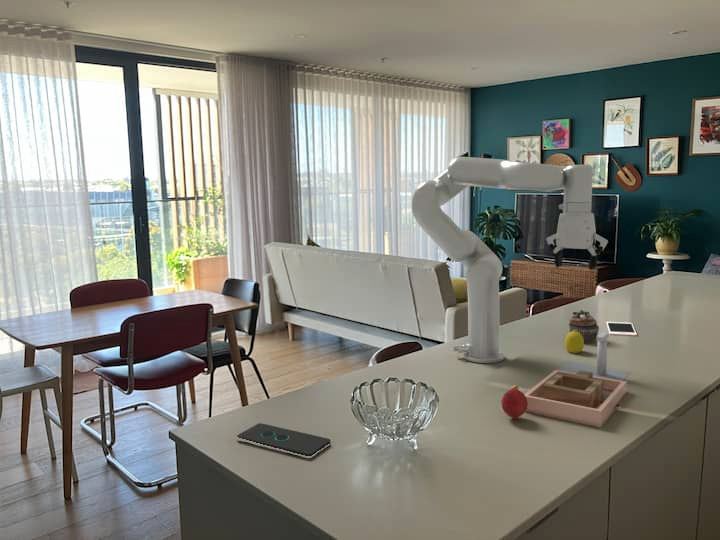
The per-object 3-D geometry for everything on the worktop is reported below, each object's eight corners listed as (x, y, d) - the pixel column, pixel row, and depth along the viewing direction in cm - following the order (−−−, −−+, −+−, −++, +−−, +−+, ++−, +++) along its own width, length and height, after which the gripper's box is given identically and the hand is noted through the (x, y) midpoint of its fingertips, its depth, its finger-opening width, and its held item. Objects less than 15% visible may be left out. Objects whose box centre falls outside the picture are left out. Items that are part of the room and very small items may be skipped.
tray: (600, 427, 130) (601, 411, 130) (522, 411, 141) (522, 395, 141) (626, 396, 149) (626, 381, 148) (555, 383, 159) (555, 369, 159)
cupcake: (590, 345, 194) (590, 315, 192) (563, 340, 201) (563, 311, 199) (604, 339, 200) (605, 311, 198) (577, 335, 207) (578, 307, 206)
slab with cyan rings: (259, 421, 137) (331, 438, 127) (260, 429, 137) (332, 446, 127) (235, 435, 130) (309, 454, 120) (235, 442, 130) (309, 462, 120)
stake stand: (630, 375, 164) (632, 332, 162) (618, 389, 153) (620, 343, 151) (568, 365, 174) (569, 324, 172) (553, 378, 163) (554, 334, 162)
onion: (513, 425, 133) (513, 391, 132) (496, 417, 138) (496, 384, 137) (532, 420, 136) (533, 387, 135) (515, 412, 141) (515, 379, 140)
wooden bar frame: (589, 414, 136) (590, 393, 135) (542, 405, 142) (542, 385, 142) (608, 393, 148) (609, 374, 148) (564, 385, 155) (565, 367, 154)
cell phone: (609, 336, 206) (609, 333, 206) (606, 323, 223) (606, 321, 223) (637, 337, 203) (637, 334, 203) (631, 325, 220) (631, 322, 220)
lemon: (584, 358, 180) (585, 332, 179) (565, 357, 182) (566, 332, 180) (582, 353, 186) (582, 328, 185) (563, 352, 187) (564, 327, 186)
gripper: (542, 208, 171) (541, 267, 174) (604, 209, 160) (601, 271, 163) (552, 207, 177) (551, 264, 180) (612, 208, 166) (610, 268, 169)
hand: (575, 267), depth 171 cm, fingers open, 9 cm apart
